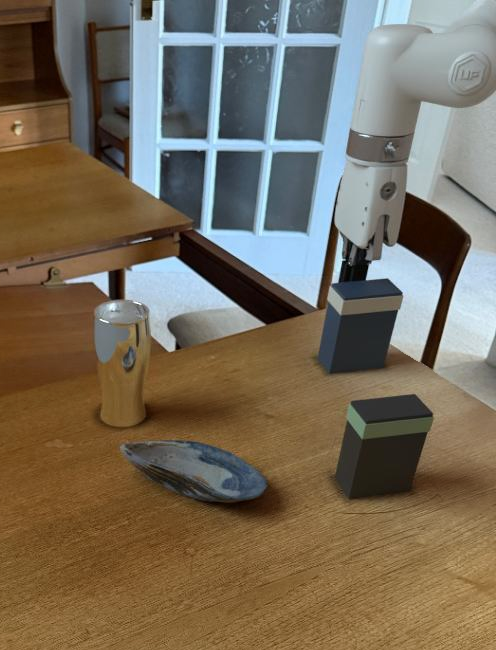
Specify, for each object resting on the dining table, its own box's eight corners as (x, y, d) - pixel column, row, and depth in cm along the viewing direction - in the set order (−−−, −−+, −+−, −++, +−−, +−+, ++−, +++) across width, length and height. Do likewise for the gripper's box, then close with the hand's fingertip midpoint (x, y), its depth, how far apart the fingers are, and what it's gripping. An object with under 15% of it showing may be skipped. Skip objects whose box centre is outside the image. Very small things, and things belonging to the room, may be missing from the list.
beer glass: (156, 409, 98) (158, 302, 89) (140, 438, 93) (141, 327, 84) (106, 401, 100) (103, 295, 90) (88, 429, 95) (83, 319, 85)
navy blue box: (369, 356, 108) (388, 277, 100) (383, 373, 104) (404, 292, 96) (315, 362, 107) (330, 282, 99) (327, 379, 103) (344, 298, 95)
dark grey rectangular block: (393, 475, 86) (415, 393, 79) (410, 497, 83) (435, 413, 76) (331, 482, 85) (349, 400, 78) (346, 505, 82) (366, 421, 75)
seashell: (135, 538, 79) (135, 502, 75) (117, 469, 88) (116, 434, 85) (274, 522, 80) (280, 485, 77) (242, 455, 90) (246, 421, 87)
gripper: (437, 160, 85) (400, 311, 97) (381, 129, 97) (354, 267, 108) (375, 164, 84) (345, 315, 96) (326, 132, 96) (304, 271, 107)
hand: (350, 289), depth 102 cm, fingers closed
